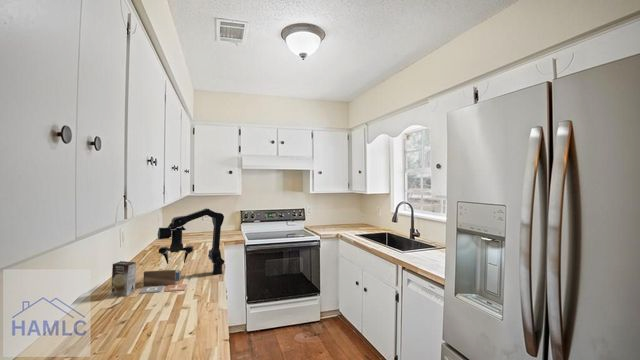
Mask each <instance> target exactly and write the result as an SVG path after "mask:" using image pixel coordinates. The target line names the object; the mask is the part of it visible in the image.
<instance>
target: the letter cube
mask: <svg viewBox="0 0 640 360" xmlns="http://www.w3.org/2000/svg"><path fill="white" fill-rule="evenodd" d="M175 270H176V280H175V282H178V281H179V282H180V279H181V274H182V273H181V271H182V270H181V269H180V270H177V269H175Z"/></svg>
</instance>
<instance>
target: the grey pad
mask: <svg viewBox="0 0 640 360" xmlns="http://www.w3.org/2000/svg"><path fill="white" fill-rule="evenodd" d="M164 287H165V285H162V286H146V287H142V289H141V290H140V291H139V294H140V295H141V294H155V293H162V291H163V289H164Z"/></svg>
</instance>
